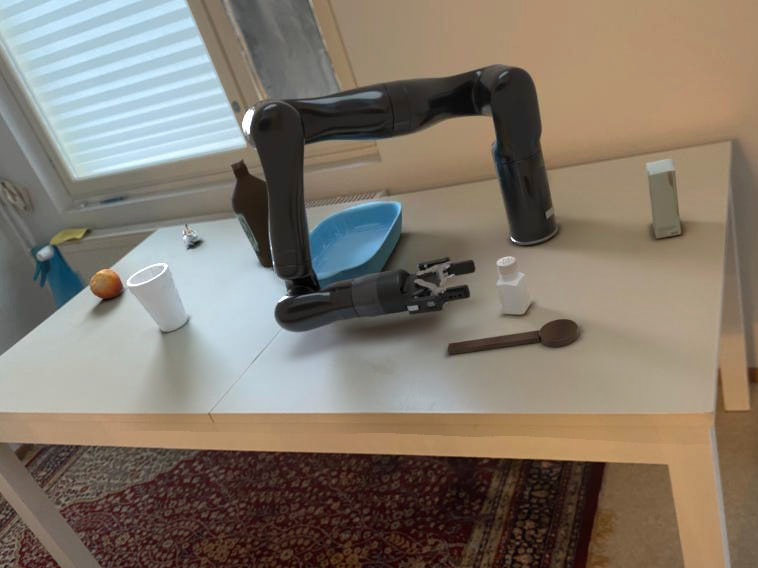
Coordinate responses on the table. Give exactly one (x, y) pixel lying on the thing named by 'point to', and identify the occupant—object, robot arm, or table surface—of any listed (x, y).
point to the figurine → (190, 236)
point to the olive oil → (252, 210)
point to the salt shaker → (512, 287)
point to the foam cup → (159, 296)
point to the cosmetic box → (663, 198)
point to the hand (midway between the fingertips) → (471, 277)
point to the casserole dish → (355, 241)
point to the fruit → (106, 284)
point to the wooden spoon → (523, 338)
